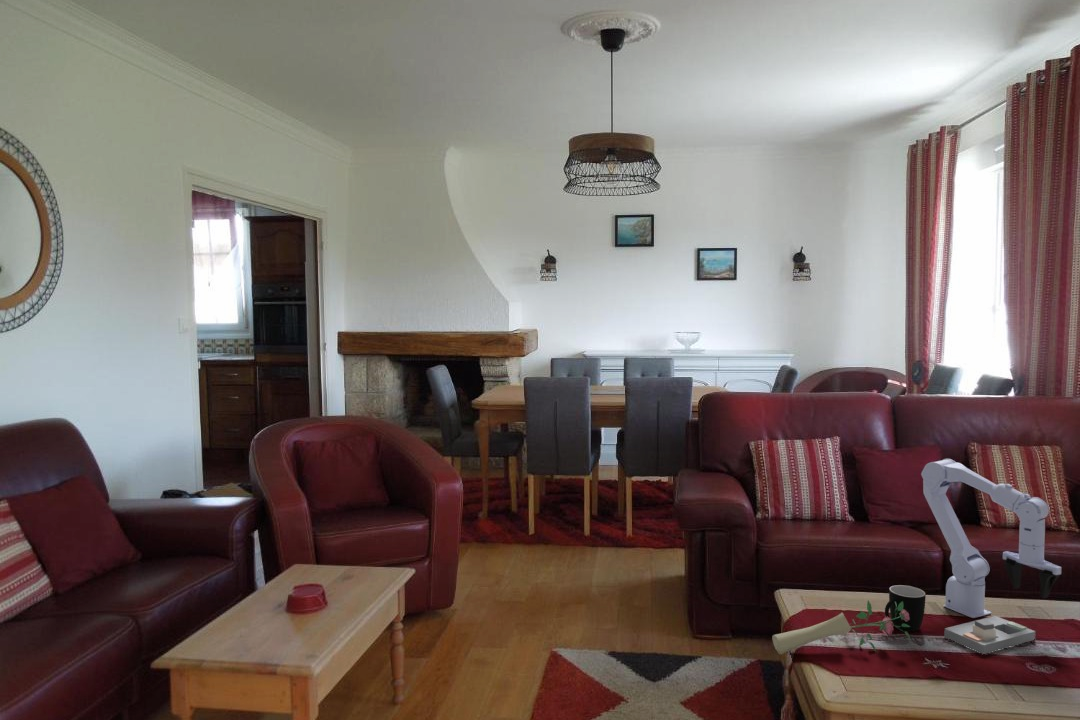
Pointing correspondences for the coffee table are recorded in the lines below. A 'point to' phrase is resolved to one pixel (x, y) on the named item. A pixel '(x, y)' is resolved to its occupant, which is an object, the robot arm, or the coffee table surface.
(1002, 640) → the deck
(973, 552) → the robot arm
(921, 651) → the coffee table surface
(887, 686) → the coffee table surface
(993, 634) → the plug
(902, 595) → the mug
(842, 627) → the flower vase
